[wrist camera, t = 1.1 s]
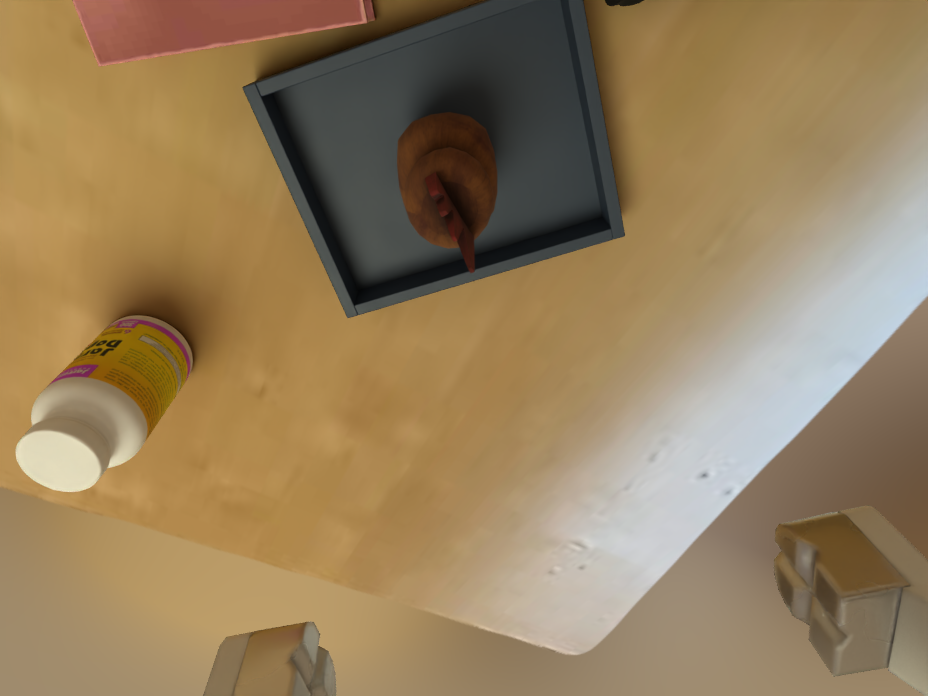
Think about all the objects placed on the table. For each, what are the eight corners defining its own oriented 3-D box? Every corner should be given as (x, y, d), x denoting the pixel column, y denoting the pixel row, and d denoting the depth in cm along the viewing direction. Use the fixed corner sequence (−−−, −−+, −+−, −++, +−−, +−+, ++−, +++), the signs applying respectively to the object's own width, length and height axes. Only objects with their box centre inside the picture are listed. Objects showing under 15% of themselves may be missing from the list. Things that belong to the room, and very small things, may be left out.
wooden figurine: (496, 202, 41) (523, 298, 28) (411, 214, 41) (399, 313, 28) (485, 96, 38) (510, 148, 25) (393, 108, 38) (370, 167, 25)
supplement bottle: (149, 296, 44) (51, 396, 33) (214, 361, 47) (144, 474, 36) (84, 339, 45) (-30, 449, 34) (150, 400, 48) (65, 520, 37)
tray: (567, -29, 35) (577, -31, 32) (613, 221, 42) (625, 236, 40) (255, 81, 37) (241, 87, 34) (352, 300, 45) (347, 318, 42)
